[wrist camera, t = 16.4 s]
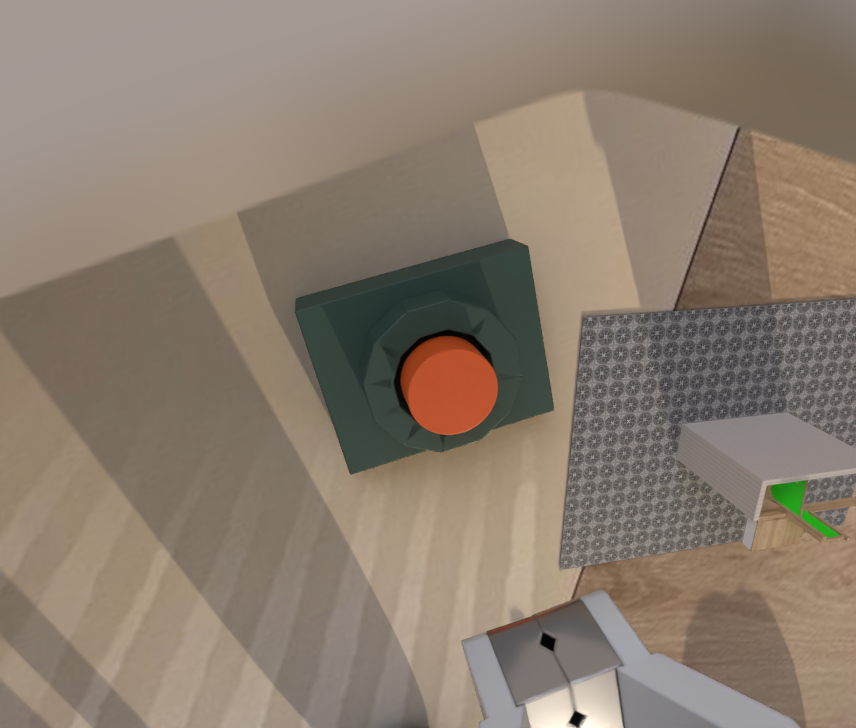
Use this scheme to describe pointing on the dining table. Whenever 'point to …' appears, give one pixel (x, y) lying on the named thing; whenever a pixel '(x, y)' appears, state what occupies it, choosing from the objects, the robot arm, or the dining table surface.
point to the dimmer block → (412, 325)
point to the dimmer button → (448, 385)
